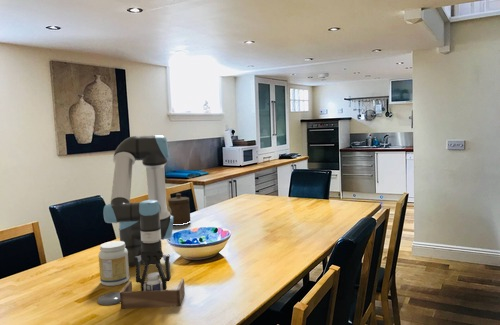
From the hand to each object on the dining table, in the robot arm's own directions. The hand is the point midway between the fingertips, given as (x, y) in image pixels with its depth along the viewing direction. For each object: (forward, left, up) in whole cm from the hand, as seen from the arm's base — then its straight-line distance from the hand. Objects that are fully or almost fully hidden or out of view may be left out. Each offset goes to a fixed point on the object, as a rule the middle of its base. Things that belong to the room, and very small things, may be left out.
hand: (154, 298), depth 154 cm
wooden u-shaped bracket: (+1, 0, 0) cm, 1 cm away
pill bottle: (0, 0, -1) cm, 1 cm away
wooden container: (-128, -10, -1) cm, 128 cm away
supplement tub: (-21, -22, -1) cm, 30 cm away
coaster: (-2, -17, 0) cm, 17 cm away
